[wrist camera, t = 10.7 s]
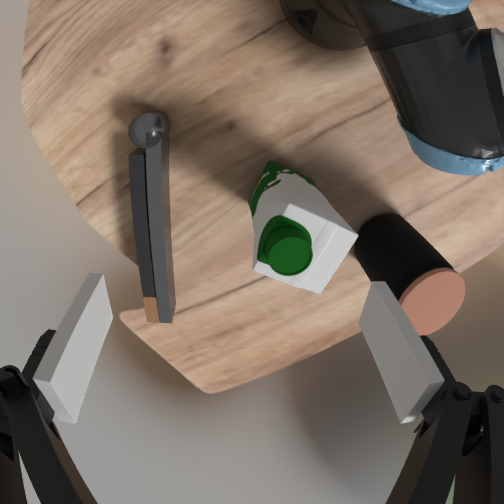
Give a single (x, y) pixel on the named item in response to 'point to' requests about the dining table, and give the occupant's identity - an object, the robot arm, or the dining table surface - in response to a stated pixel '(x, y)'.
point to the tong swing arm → (143, 231)
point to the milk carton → (296, 230)
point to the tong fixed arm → (158, 203)
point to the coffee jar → (410, 271)
